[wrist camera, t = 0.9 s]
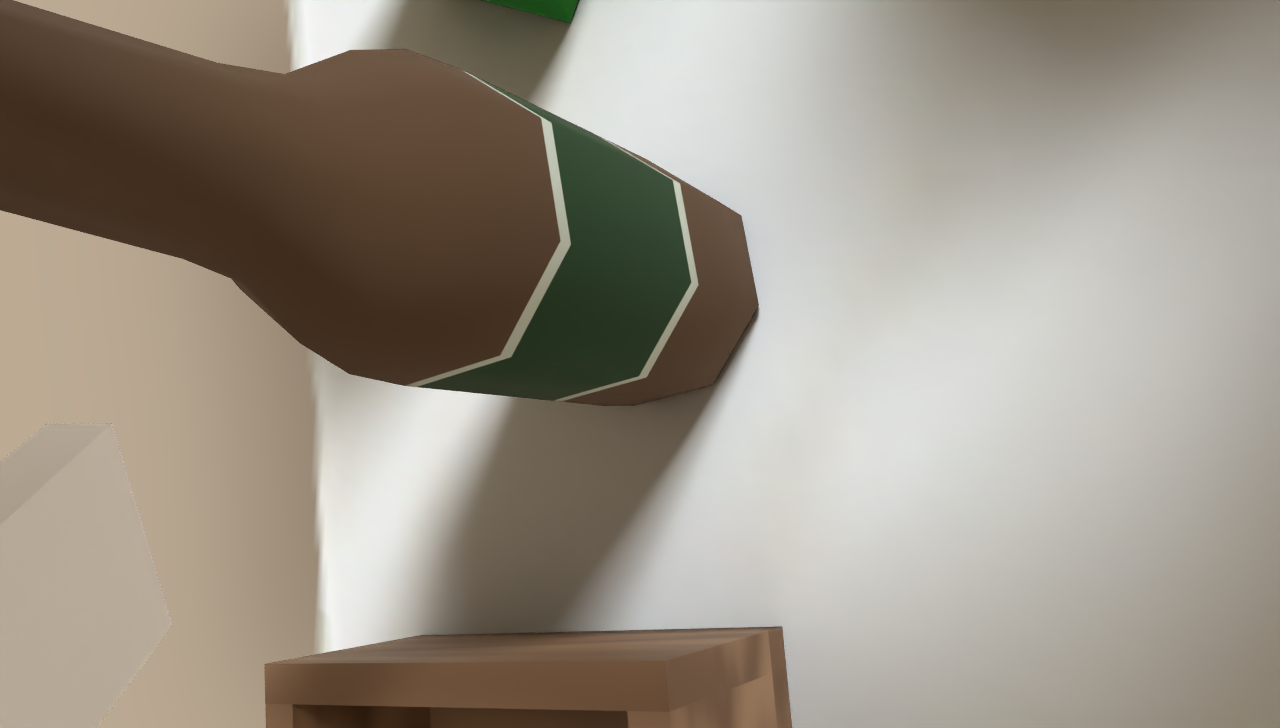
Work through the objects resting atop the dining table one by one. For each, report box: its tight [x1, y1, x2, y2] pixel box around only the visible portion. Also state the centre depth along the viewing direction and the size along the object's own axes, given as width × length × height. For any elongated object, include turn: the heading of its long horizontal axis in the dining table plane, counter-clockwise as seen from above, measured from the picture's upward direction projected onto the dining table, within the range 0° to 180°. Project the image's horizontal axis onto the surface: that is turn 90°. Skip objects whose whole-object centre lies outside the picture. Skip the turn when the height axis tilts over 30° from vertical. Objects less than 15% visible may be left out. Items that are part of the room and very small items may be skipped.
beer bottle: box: [0, 0, 759, 406], centre depth 25 cm, size 8×8×24 cm
